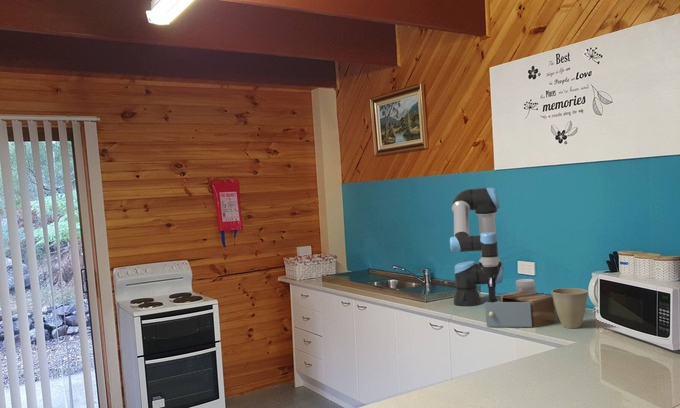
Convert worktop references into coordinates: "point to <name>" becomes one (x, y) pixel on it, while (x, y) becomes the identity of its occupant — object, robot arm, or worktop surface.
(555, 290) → the plant pot
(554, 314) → the cabinet
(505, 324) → the cabinet door
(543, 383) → the worktop surface
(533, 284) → the supplement tub
